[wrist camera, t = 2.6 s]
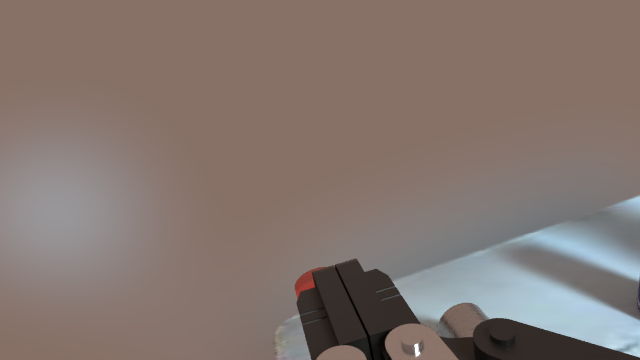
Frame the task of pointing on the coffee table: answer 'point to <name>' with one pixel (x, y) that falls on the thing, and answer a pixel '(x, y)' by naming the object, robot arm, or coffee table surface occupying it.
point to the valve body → (460, 321)
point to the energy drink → (639, 296)
